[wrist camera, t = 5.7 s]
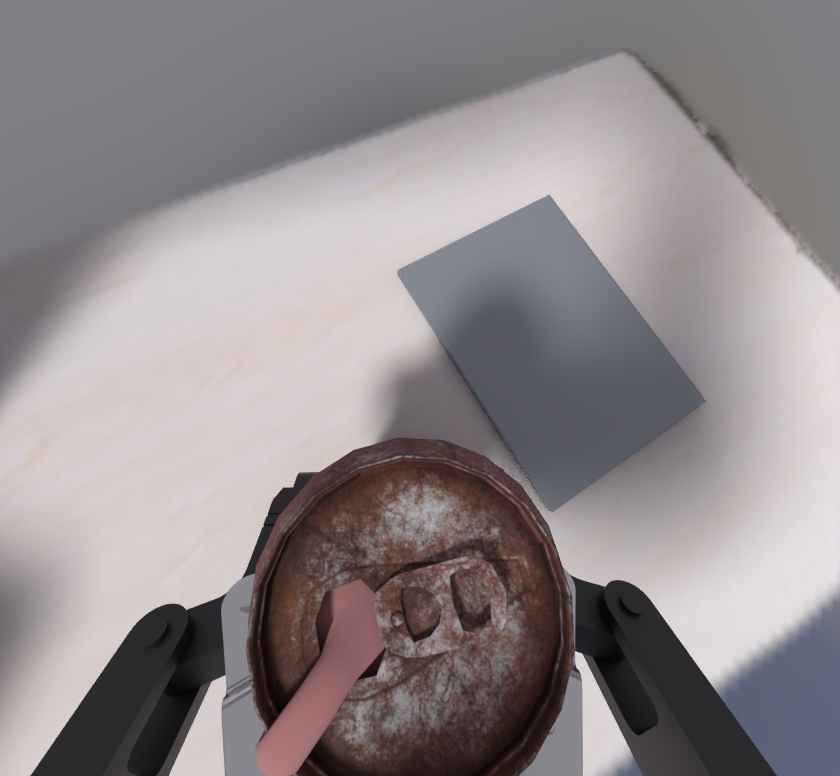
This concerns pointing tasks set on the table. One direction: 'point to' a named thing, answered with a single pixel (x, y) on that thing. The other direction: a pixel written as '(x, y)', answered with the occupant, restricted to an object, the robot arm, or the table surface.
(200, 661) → the robot arm
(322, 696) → the can
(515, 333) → the mat
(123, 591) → the table surface
